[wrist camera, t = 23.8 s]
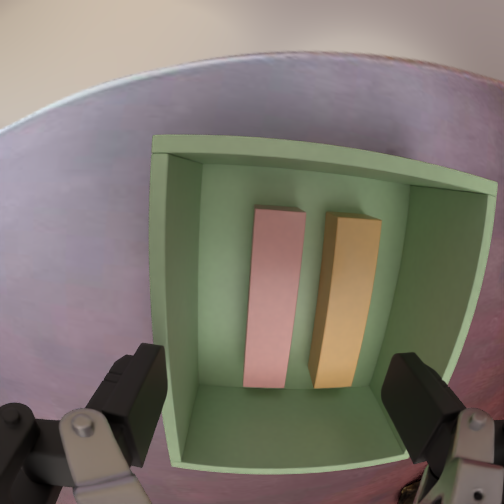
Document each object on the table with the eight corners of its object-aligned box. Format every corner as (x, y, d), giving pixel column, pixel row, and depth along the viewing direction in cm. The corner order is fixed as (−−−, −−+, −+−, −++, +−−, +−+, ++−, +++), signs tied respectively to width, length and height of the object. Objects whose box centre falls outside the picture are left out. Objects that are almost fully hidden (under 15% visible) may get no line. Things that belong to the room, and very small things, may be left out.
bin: (194, 153, 16) (152, 134, 9) (414, 176, 16) (498, 182, 9) (192, 384, 20) (171, 466, 12) (371, 386, 20) (408, 458, 13)
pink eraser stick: (254, 204, 16) (254, 208, 14) (298, 207, 16) (306, 212, 14) (243, 364, 19) (242, 387, 16) (280, 365, 19) (284, 388, 16)
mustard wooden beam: (325, 211, 16) (337, 216, 14) (365, 214, 16) (382, 219, 14) (307, 367, 19) (313, 389, 16) (341, 365, 19) (351, 386, 16)
